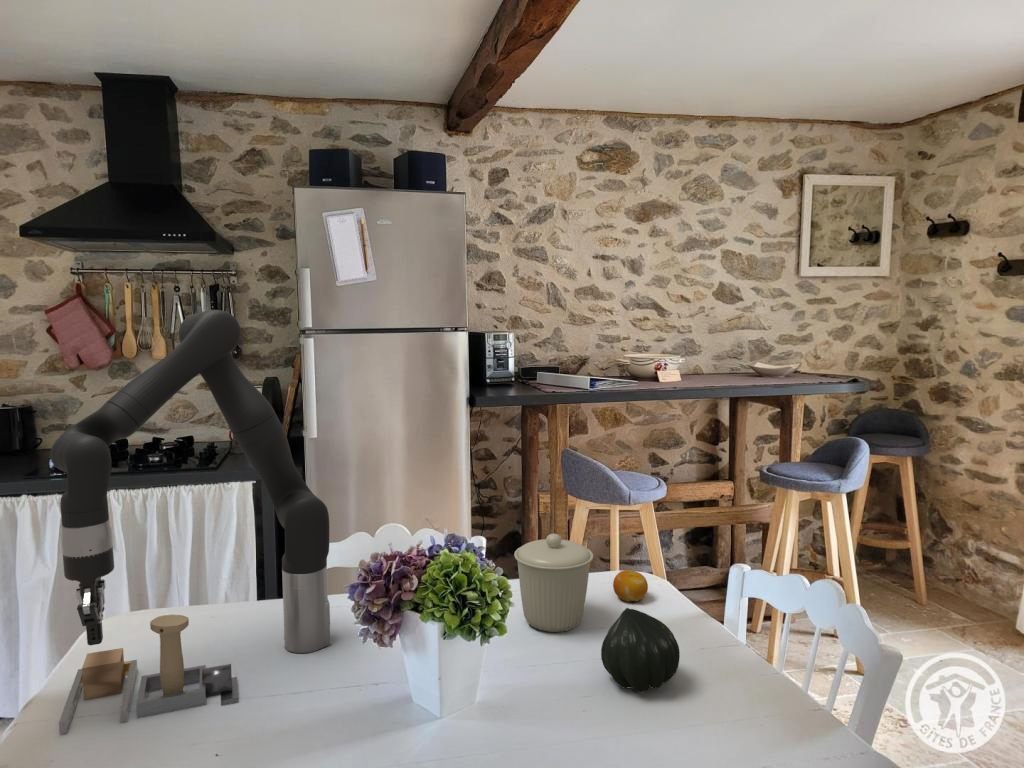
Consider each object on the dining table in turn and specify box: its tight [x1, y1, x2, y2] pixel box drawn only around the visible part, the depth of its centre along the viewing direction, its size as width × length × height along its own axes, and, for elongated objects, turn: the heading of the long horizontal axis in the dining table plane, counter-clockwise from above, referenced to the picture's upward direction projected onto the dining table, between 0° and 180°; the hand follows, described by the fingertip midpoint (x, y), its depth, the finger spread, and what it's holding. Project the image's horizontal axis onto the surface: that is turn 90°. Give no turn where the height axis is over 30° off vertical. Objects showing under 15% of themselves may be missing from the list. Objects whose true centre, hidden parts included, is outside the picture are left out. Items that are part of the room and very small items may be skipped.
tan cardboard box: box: [81, 647, 126, 700], centre depth 133 cm, size 6×6×6 cm
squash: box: [600, 607, 681, 693], centre depth 139 cm, size 14×15×15 cm
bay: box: [58, 659, 138, 736], centre depth 130 cm, size 10×19×4 cm, turn 23°
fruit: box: [612, 569, 649, 602], centre depth 179 cm, size 8×8×8 cm
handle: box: [149, 614, 190, 696], centre depth 130 cm, size 5×6×15 cm
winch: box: [136, 663, 240, 719], centre depth 132 cm, size 16×10×6 cm, turn 113°
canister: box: [514, 533, 594, 633], centre depth 164 cm, size 18×18×21 cm
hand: (95, 642), depth 125 cm, fingers closed
